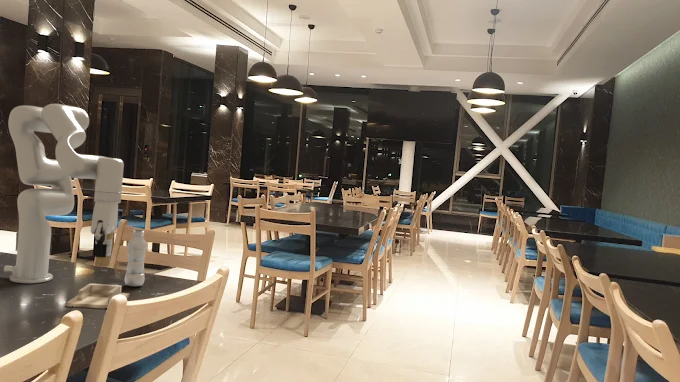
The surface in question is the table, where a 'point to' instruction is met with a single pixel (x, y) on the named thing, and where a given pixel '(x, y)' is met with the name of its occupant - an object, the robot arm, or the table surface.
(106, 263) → the sprinkles bottle
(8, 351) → the table surface
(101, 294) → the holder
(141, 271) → the plastic bottle
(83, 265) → the table surface
